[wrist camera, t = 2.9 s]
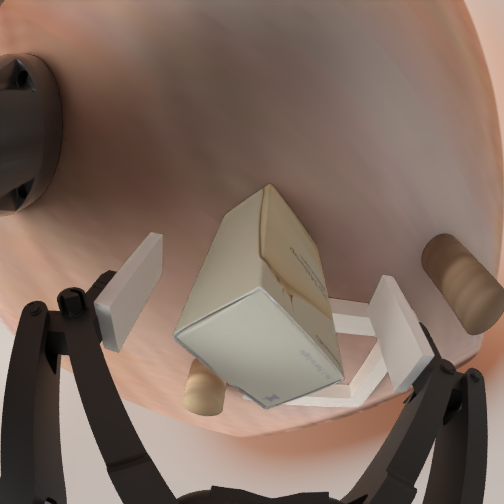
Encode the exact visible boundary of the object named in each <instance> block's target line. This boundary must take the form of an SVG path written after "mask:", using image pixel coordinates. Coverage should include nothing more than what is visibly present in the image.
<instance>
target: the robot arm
mask: <svg viewBox="0 0 504 504" xmlns="http://www.w3.org/2000/svg"><path fill="white" fill-rule="evenodd" d="M3 2H4V0H0V6H1V5H2V3H3ZM61 139H62V109H61V102H60V96H59V92H58V88H57V85H56V82H55V79H54V77H53V75H52V73H51V71H50V70H49V68H48V67H47V66H46V64H45V63H44V62H43V61H42V60H40V59H39V58H37V57H36V56H33V55H30V54H6V55H2V56H0V216H7V215H11V214H14V213H16V212H19V211H20V210H22V209H24V208H25V207H27V206H28V205H30V204H32V203H33V202H35V201H36V200H37V199H38V198H39V197H40V196H41V195H42V194H43V193H44V191H45V190H46V188H47V187H48V185H49V183H50V181H51V179H52V177H53V174H54V172H55V169H56V165H57V162H58V158H59V153H60V147H61ZM162 256H163V234H158V233H153V232H150V234H149V235H148V236H147V237H146V238H145V239H144V241H143V242H142V243H141V244H140V245H139V246H138V248H137V249H136V250H135V251H134V252H133V254H132V255H131V256H130V257H129V258H128V260H127V261H126V262H125V263H124V264H123V266H122V267H121V268H120V269H119V271H118V272H115V271H111V270H109V271H107V272H105V273H103V274H102V275H101V276H100V277H99V278H98V279H97V280H96V282H95V283H94V284H93V285H92V287H91V288H90V289H89V290H88V291H87V292H86V293H85V292H84V290H82V289H80V288H76V287H72V288H67V289H64V290H63V291H62V292H60V293H59V295H58V297H57V302H58V305H59V309H60V311H49V310H48V308H47V306H46V304H45V303H44V302H42V301H33V302H31V303H29V304H27V305H26V306H25V307H24V309H23V311H22V314H21V317H20V321H19V325H18V328H17V332H16V336H15V340H14V345H13V349H12V354H11V358H10V363H9V369H8V375H7V381H6V388H5V395H4V403H3V413H2V427H1V477H0V504H67V499H66V498H67V497H66V488H65V481H64V474H63V466H62V456H61V444H60V425H59V384H60V381H59V380H60V364H61V355H69V356H70V361H71V365H72V369H73V373H74V376H75V380H76V384H77V387H78V391H79V394H80V397H81V400H82V403H83V407H84V410H85V413H86V415H87V418H88V421H89V424H90V426H91V429H92V432H93V435H94V437H95V440H96V442H97V445H98V447H99V449H100V452H101V454H102V456H103V459H104V461H105V463H106V466H107V472H108V474H109V477H110V479H111V481H112V483H113V485H114V487H115V489H116V491H117V493H118V495H119V496H120V498H121V500H122V502H123V503H124V504H411V503H412V501H413V499H414V498H415V495H416V493H417V489H416V488H414V484H415V482H416V480H417V478H418V476H419V474H420V472H421V470H422V468H423V466H424V464H425V461H426V459H427V457H428V455H429V452H430V450H431V448H432V445H433V443H434V440H435V438H436V440H435V447H434V453H433V459H432V464H431V470H430V474H429V480H428V484H427V488H426V493H425V496H424V500H423V504H483V497H484V490H485V481H486V468H487V445H488V444H487V443H488V442H487V441H488V434H487V433H488V429H487V406H486V393H485V383H484V378H483V376H482V374H481V372H479V370H477V369H474V368H470V369H468V370H467V371H466V373H465V374H463V373H460V372H456V369H455V367H454V366H453V364H452V363H451V362H449V361H448V360H445V359H442V358H441V356H440V354H439V352H438V350H437V348H436V346H435V344H434V342H433V340H432V338H431V337H430V334H429V332H428V330H427V328H426V327H425V326H424V325H423V324H422V323H421V322H418V321H417V319H416V317H415V315H414V313H413V311H412V309H411V308H410V306H409V304H408V302H407V300H406V299H405V297H404V295H403V293H402V291H401V290H400V288H399V286H398V284H397V283H396V281H395V279H394V278H393V277H392V276H387V275H382V277H381V279H380V282H379V284H378V286H377V288H376V291H375V293H374V295H373V297H372V299H371V301H370V303H369V305H368V308H367V313H368V316H369V318H370V321H371V324H372V327H373V329H374V332H375V335H376V338H377V341H378V344H379V347H380V350H381V353H382V356H383V359H384V362H385V365H386V368H387V371H388V374H389V377H390V381H391V384H392V387H393V391H394V392H406V391H407V390H408V389H409V388H410V386H411V385H413V388H414V391H413V392H412V393H411V394H410V395H409V397H408V398H407V399H406V400H405V401H404V402H403V403H406V404H405V406H404V408H403V410H402V412H401V414H400V416H399V417H398V419H397V421H396V423H395V425H394V426H393V428H392V430H391V432H390V434H389V435H388V437H387V438H386V440H385V442H384V443H383V445H382V447H381V448H380V450H379V452H378V453H377V455H376V456H375V458H374V459H373V461H372V462H371V464H370V465H369V466H368V468H367V469H366V471H365V472H364V474H363V475H362V476H361V478H360V479H359V481H358V482H357V483H356V485H355V486H354V487H353V489H352V490H351V491H350V492H349V493H348V494H347V495H346V496H345V497H344V498H342V499H341V500H340V501H339V500H337V499H333V498H330V497H329V492H311V493H298V494H294V495H289V496H284V497H279V498H268V497H264V496H260V495H257V494H254V493H251V492H248V491H245V490H241V489H233V488H224V487H218V486H212V487H211V490H202V491H196V492H192V493H189V494H186V495H183V496H181V497H179V498H177V499H176V498H175V496H174V495H173V493H172V492H171V490H170V489H169V487H168V486H167V484H166V482H165V481H164V479H163V478H162V476H161V474H160V473H159V471H158V469H157V468H156V466H155V464H154V463H153V461H152V459H151V458H150V456H149V455H148V453H147V452H146V450H145V448H144V446H143V444H142V442H141V441H140V439H139V437H138V435H137V433H136V431H135V429H134V427H133V425H132V423H131V421H130V419H129V416H128V414H127V412H126V410H125V408H124V405H123V403H122V401H121V399H120V396H119V394H118V391H117V389H116V387H115V384H114V382H113V379H112V377H111V374H110V372H109V369H108V366H107V364H106V361H105V358H104V355H103V352H102V349H101V347H100V343H101V341H103V345H104V348H105V349H108V350H112V351H115V352H118V353H119V352H120V350H121V348H122V346H123V344H124V342H125V340H126V338H127V336H128V335H129V333H130V331H131V329H132V327H133V325H134V323H135V322H136V320H137V318H138V316H139V314H140V313H141V311H142V309H143V307H144V305H145V304H146V302H147V300H148V298H149V297H150V295H151V293H152V291H153V290H154V288H155V286H156V285H157V283H158V281H159V279H160V278H161V276H162Z"/></svg>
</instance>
